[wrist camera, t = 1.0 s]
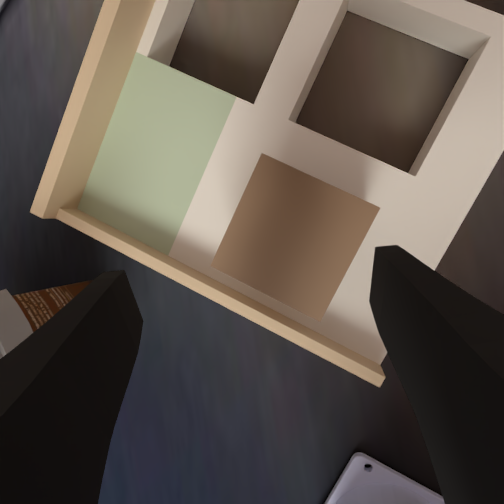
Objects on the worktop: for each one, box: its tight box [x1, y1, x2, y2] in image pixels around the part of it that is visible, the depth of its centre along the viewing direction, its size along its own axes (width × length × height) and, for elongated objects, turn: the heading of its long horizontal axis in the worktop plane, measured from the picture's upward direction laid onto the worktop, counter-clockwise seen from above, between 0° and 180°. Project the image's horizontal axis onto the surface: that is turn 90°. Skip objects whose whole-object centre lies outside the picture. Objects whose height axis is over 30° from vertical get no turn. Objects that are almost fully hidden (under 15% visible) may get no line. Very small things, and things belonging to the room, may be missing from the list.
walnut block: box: [210, 153, 380, 322], centre depth 17 cm, size 5×5×5 cm
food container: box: [0, 280, 93, 359], centre depth 20 cm, size 12×6×10 cm, turn 135°
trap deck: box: [30, 0, 504, 388], centre depth 19 cm, size 20×18×5 cm
